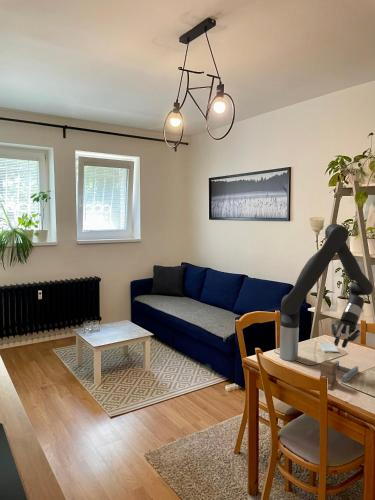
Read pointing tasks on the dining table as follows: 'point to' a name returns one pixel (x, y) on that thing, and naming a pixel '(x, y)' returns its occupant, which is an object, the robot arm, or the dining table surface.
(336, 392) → the dining table surface
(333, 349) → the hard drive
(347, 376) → the channel
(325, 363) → the walnut block
